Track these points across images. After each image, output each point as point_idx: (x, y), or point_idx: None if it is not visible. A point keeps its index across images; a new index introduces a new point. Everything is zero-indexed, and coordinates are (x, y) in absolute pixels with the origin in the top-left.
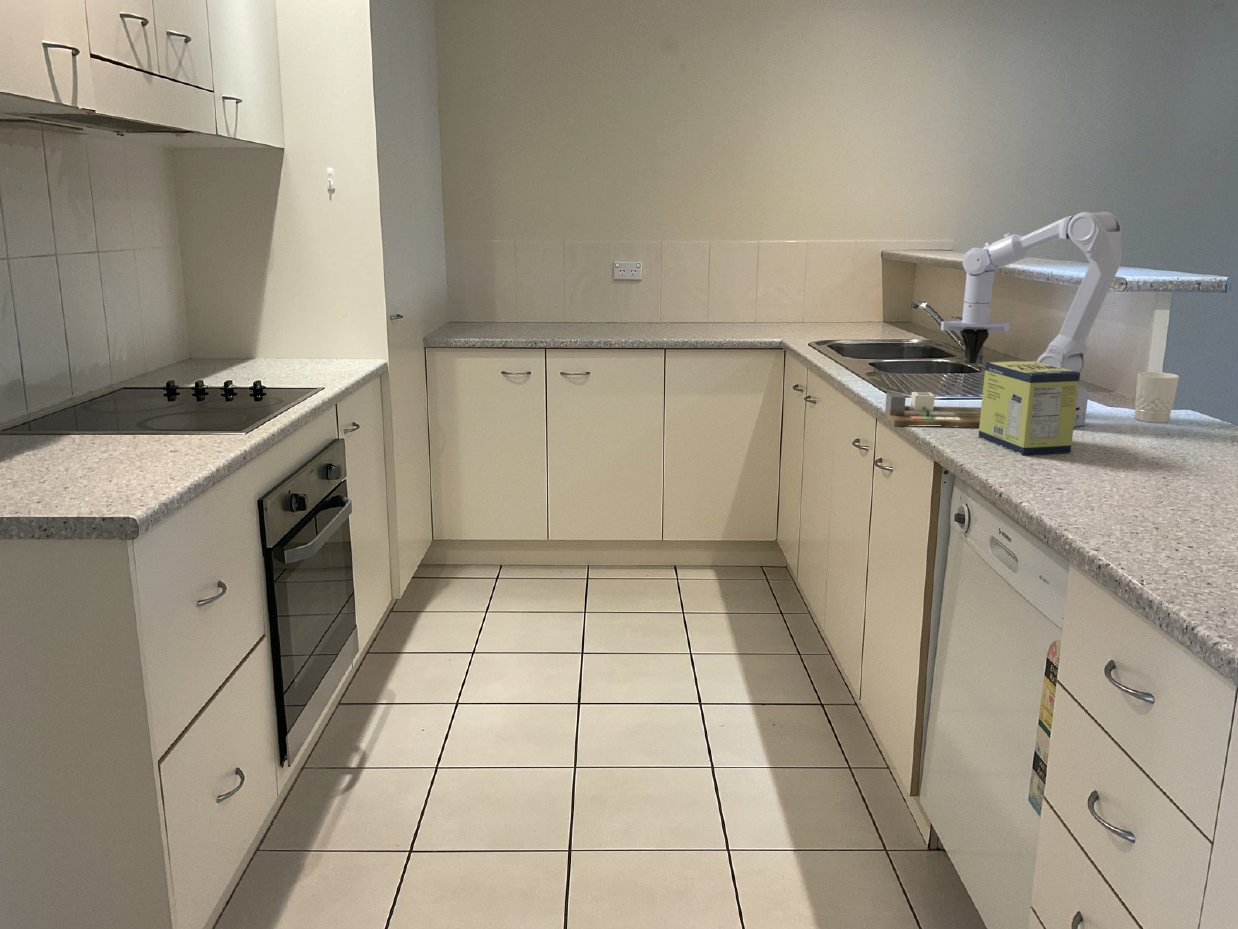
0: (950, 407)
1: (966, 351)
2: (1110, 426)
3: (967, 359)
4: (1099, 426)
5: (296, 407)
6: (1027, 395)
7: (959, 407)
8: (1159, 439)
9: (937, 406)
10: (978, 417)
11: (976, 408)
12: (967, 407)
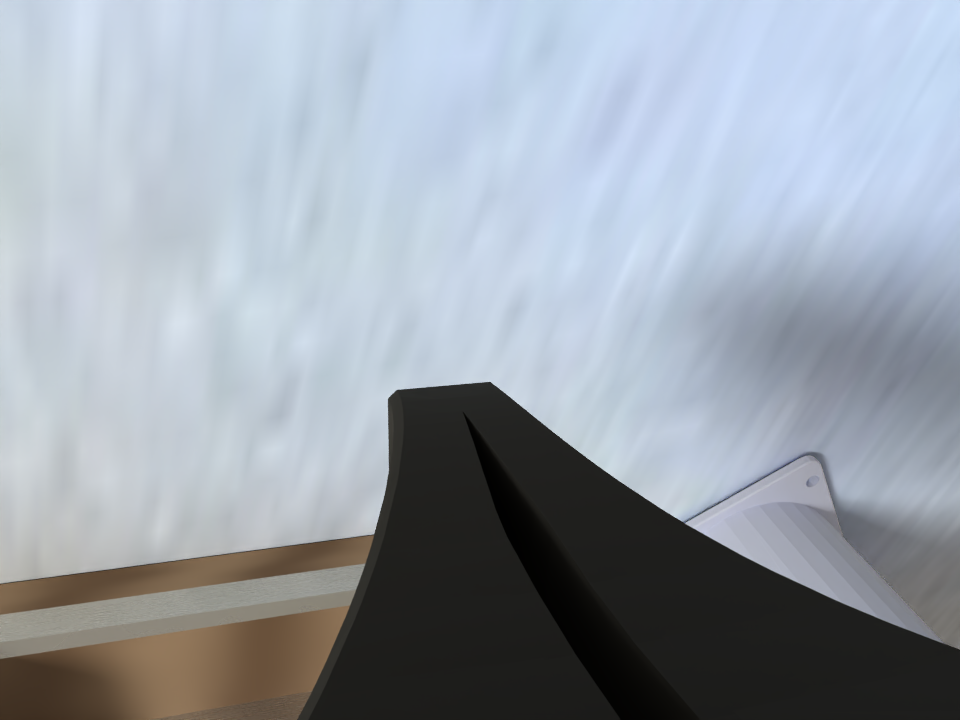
0: (137, 637)
1: (389, 501)
2: (943, 574)
3: (392, 432)
4: (897, 585)
5: None
6: None
7: (210, 625)
8: None
9: (25, 638)
10: None
11: (340, 603)
12: (273, 615)
